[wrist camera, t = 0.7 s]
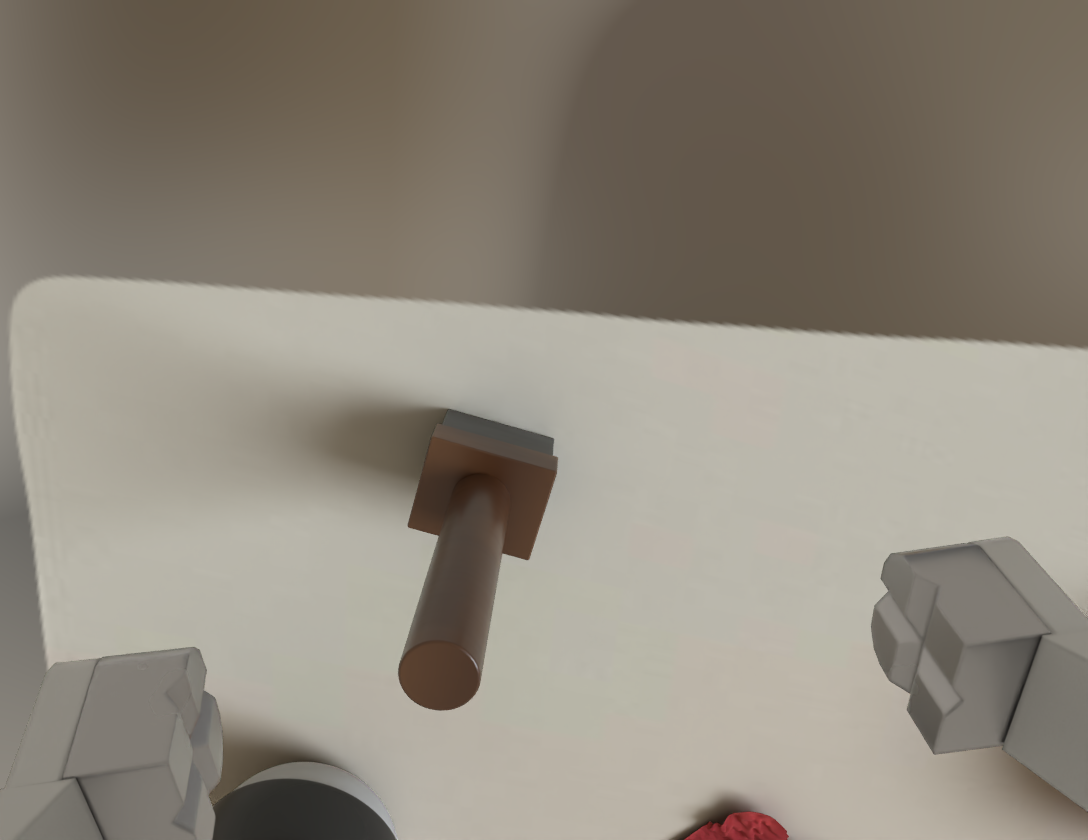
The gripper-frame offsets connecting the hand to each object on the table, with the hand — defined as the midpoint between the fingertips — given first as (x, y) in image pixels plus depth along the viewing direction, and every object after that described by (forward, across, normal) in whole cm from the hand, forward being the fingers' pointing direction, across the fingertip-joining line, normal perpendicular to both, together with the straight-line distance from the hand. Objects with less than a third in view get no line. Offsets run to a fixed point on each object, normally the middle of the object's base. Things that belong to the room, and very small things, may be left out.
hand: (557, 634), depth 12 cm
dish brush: (+27, -1, +16) cm, 32 cm away
